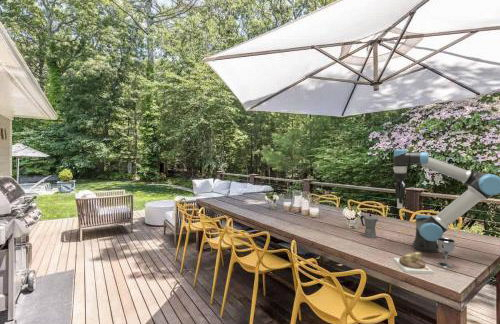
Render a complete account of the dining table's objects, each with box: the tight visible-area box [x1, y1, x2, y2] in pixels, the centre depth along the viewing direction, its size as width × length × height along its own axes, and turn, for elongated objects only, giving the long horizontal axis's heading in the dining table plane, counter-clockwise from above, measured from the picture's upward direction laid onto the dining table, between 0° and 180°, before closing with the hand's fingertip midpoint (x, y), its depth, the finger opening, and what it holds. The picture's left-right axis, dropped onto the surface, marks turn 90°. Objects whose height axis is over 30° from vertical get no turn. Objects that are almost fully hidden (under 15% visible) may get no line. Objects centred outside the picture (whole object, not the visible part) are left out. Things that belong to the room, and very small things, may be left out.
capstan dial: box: [399, 251, 426, 268], centre depth 158 cm, size 14×13×6 cm
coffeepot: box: [359, 213, 379, 239], centre depth 216 cm, size 15×9×18 cm, turn 33°
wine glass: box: [437, 237, 456, 269], centre depth 160 cm, size 8×8×15 cm
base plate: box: [393, 257, 434, 275], centre depth 159 cm, size 14×18×2 cm
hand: (399, 208), depth 182 cm, fingers closed
